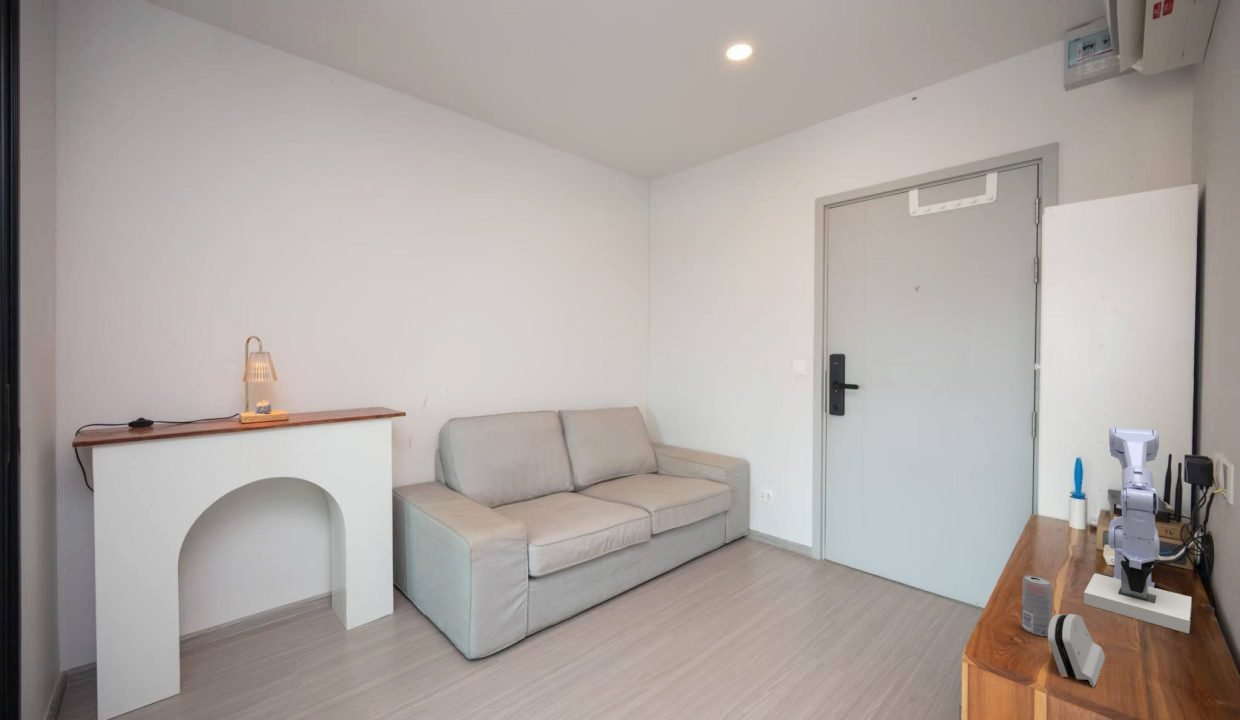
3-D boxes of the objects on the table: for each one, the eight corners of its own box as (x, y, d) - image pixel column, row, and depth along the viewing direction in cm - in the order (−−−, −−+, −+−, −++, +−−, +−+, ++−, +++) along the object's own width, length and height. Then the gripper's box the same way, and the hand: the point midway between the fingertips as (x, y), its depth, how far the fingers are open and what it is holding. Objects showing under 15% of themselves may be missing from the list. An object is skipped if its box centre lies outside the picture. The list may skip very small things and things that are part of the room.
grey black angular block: (1095, 689, 96) (1072, 633, 98) (1064, 685, 99) (1042, 631, 102) (1105, 655, 107) (1084, 605, 109) (1077, 653, 110) (1057, 605, 113)
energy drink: (1045, 627, 118) (1045, 576, 118) (1056, 639, 113) (1057, 586, 113) (1017, 622, 120) (1018, 573, 119) (1027, 634, 115) (1028, 582, 114)
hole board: (1094, 583, 141) (1094, 573, 141) (1191, 608, 127) (1191, 597, 127) (1083, 603, 129) (1084, 592, 129) (1189, 633, 115) (1189, 620, 115)
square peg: (1123, 594, 132) (1123, 563, 132) (1148, 600, 128) (1147, 569, 128) (1121, 599, 129) (1121, 568, 129) (1146, 605, 125) (1146, 573, 125)
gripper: (1119, 525, 136) (1118, 575, 136) (1112, 538, 126) (1112, 591, 126) (1157, 533, 130) (1156, 584, 130) (1153, 546, 121) (1152, 602, 121)
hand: (1137, 588), depth 128 cm, fingers closed on square peg, 4 cm apart
